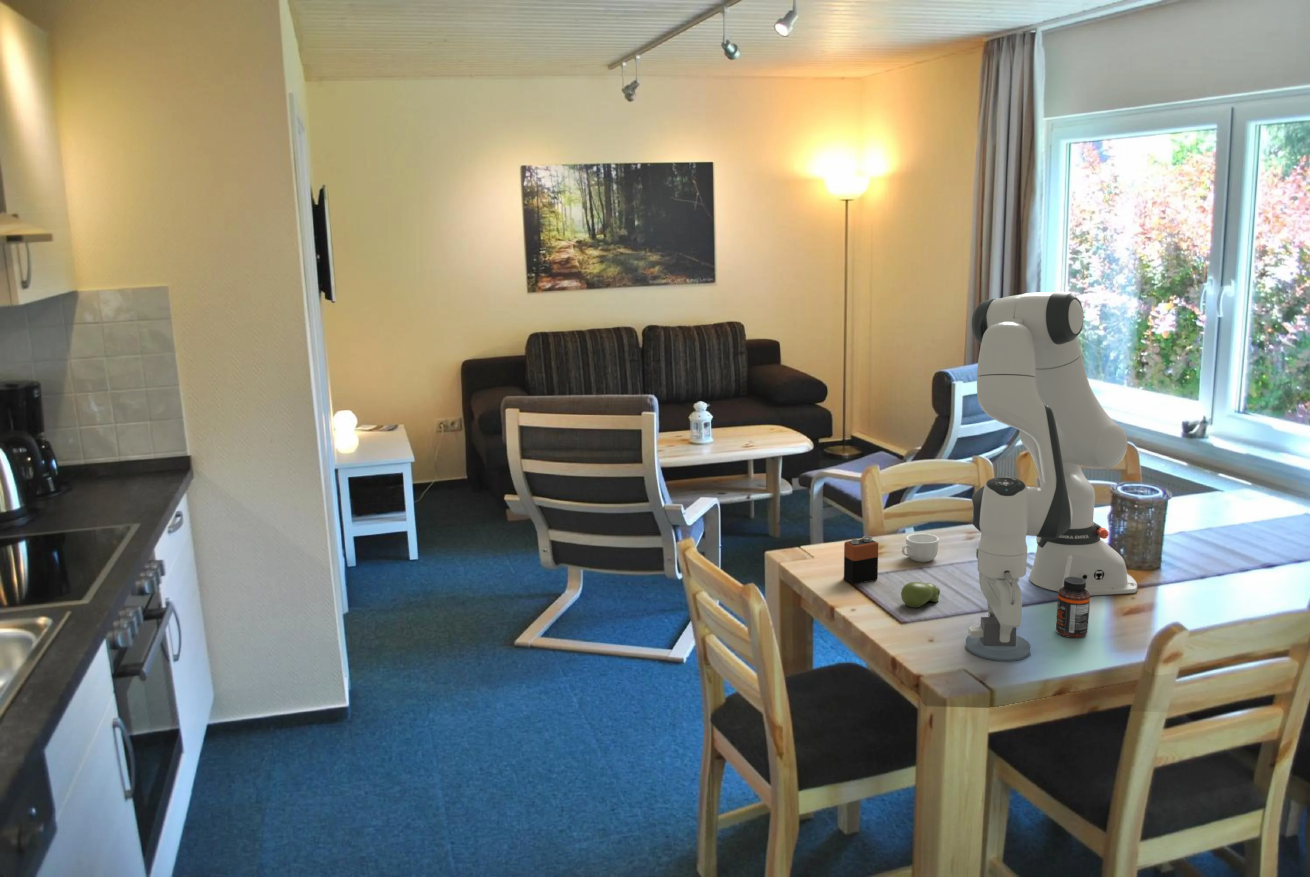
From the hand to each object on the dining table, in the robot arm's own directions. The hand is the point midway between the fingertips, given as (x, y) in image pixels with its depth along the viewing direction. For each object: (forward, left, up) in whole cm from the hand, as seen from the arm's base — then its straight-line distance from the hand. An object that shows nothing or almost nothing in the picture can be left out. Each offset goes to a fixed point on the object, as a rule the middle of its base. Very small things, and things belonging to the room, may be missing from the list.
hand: (998, 630), depth 201 cm
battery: (+23, -37, -4) cm, 44 cm away
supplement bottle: (-16, -8, -4) cm, 18 cm away
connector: (+1, 0, -2) cm, 3 cm away
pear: (+11, -23, -4) cm, 26 cm away
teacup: (+8, -51, -4) cm, 52 cm away
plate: (0, 0, -4) cm, 4 cm away
